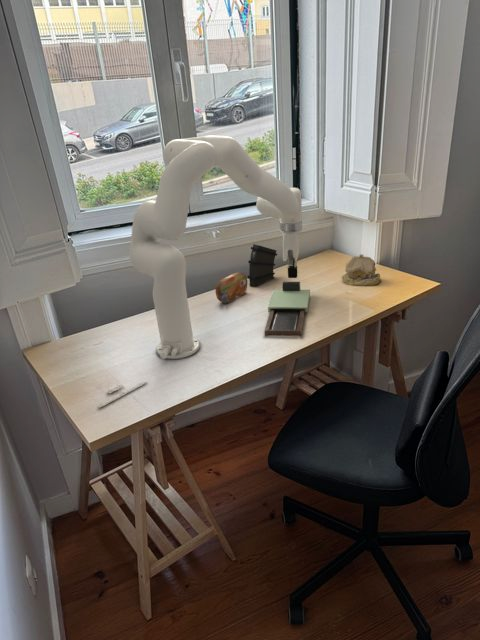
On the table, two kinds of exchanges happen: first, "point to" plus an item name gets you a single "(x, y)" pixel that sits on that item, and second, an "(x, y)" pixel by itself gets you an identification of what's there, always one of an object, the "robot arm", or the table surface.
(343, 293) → the table surface
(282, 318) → the panel
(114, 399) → the picture light
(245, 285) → the tin
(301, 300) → the lid
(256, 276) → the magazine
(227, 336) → the table surface
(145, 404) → the table surface
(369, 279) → the ceramic model
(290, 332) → the tray
